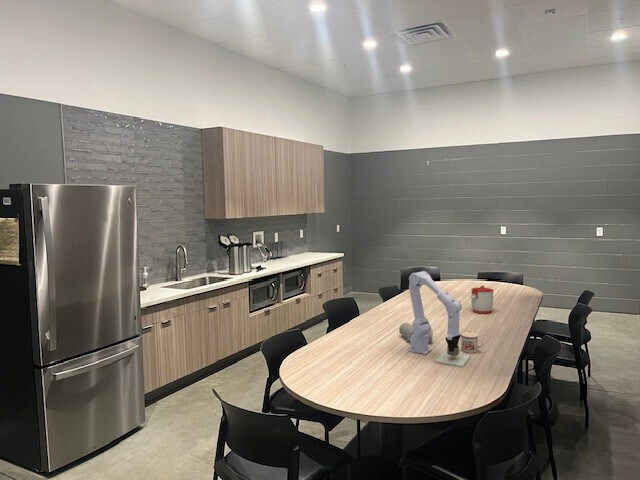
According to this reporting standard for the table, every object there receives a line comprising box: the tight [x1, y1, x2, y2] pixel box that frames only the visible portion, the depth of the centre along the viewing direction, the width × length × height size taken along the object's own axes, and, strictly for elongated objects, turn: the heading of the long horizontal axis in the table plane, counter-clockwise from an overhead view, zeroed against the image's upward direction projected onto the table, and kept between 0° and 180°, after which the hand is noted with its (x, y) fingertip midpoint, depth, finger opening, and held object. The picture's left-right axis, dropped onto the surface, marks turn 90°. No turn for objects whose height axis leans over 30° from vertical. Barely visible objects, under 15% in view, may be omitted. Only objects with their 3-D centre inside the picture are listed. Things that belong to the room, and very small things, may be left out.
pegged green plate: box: [434, 351, 471, 368], centre depth 246 cm, size 14×16×6 cm
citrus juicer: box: [470, 285, 494, 315], centre depth 345 cm, size 16×17×20 cm
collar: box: [446, 345, 460, 356], centre depth 246 cm, size 6×6×4 cm
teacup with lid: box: [460, 329, 485, 354], centre depth 261 cm, size 12×9×12 cm
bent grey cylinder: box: [398, 322, 434, 344], centre depth 282 cm, size 18×10×20 cm
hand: (453, 349), depth 246 cm, fingers closed on collar, 6 cm apart
